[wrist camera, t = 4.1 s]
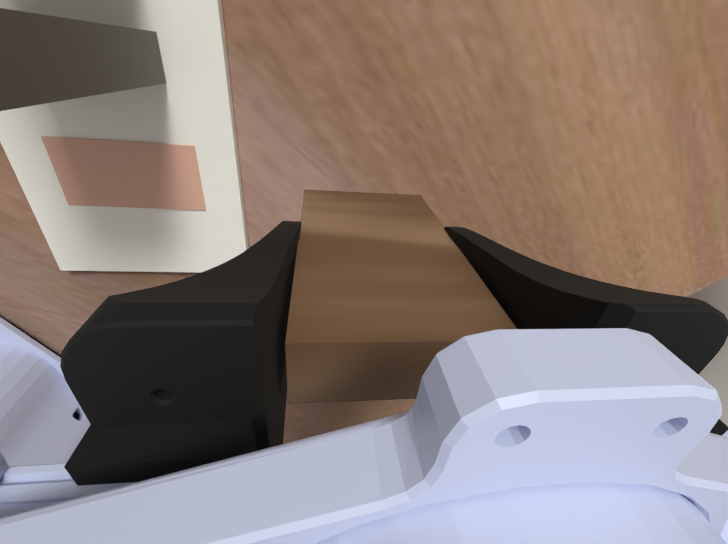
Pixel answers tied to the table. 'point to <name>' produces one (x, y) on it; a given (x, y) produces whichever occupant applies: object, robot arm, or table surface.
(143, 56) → the domino
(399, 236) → the domino
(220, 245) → the board
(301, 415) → the table surface
